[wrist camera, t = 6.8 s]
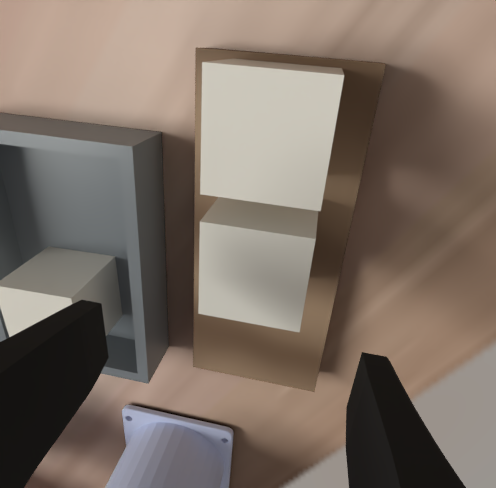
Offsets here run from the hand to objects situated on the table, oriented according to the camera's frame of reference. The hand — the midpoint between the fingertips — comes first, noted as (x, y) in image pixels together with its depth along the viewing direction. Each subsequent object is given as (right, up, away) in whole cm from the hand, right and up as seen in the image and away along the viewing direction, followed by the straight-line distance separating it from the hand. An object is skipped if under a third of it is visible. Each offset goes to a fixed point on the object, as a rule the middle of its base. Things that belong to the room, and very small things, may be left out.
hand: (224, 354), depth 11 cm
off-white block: (+2, +8, +5) cm, 9 cm away
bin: (-8, +3, +11) cm, 14 cm away
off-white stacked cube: (+2, +3, +7) cm, 8 cm away
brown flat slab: (+2, +3, +9) cm, 9 cm away
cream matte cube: (-9, +1, +12) cm, 14 cm away
